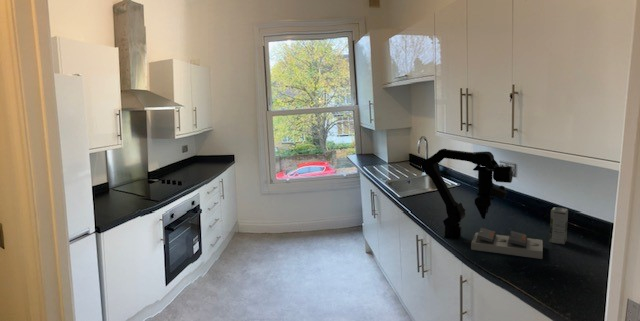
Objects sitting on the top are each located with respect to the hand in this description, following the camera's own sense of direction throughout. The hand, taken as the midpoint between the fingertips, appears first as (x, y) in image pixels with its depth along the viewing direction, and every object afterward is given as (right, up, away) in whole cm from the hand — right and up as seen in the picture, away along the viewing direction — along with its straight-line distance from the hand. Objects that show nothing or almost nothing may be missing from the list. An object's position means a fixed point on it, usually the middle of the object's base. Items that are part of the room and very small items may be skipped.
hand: (484, 215), depth 164 cm
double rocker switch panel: (+5, -13, -5) cm, 14 cm away
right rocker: (+10, -9, -9) cm, 16 cm away
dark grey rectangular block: (-1, -8, -3) cm, 9 cm away
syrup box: (+31, -11, -2) cm, 33 cm away
